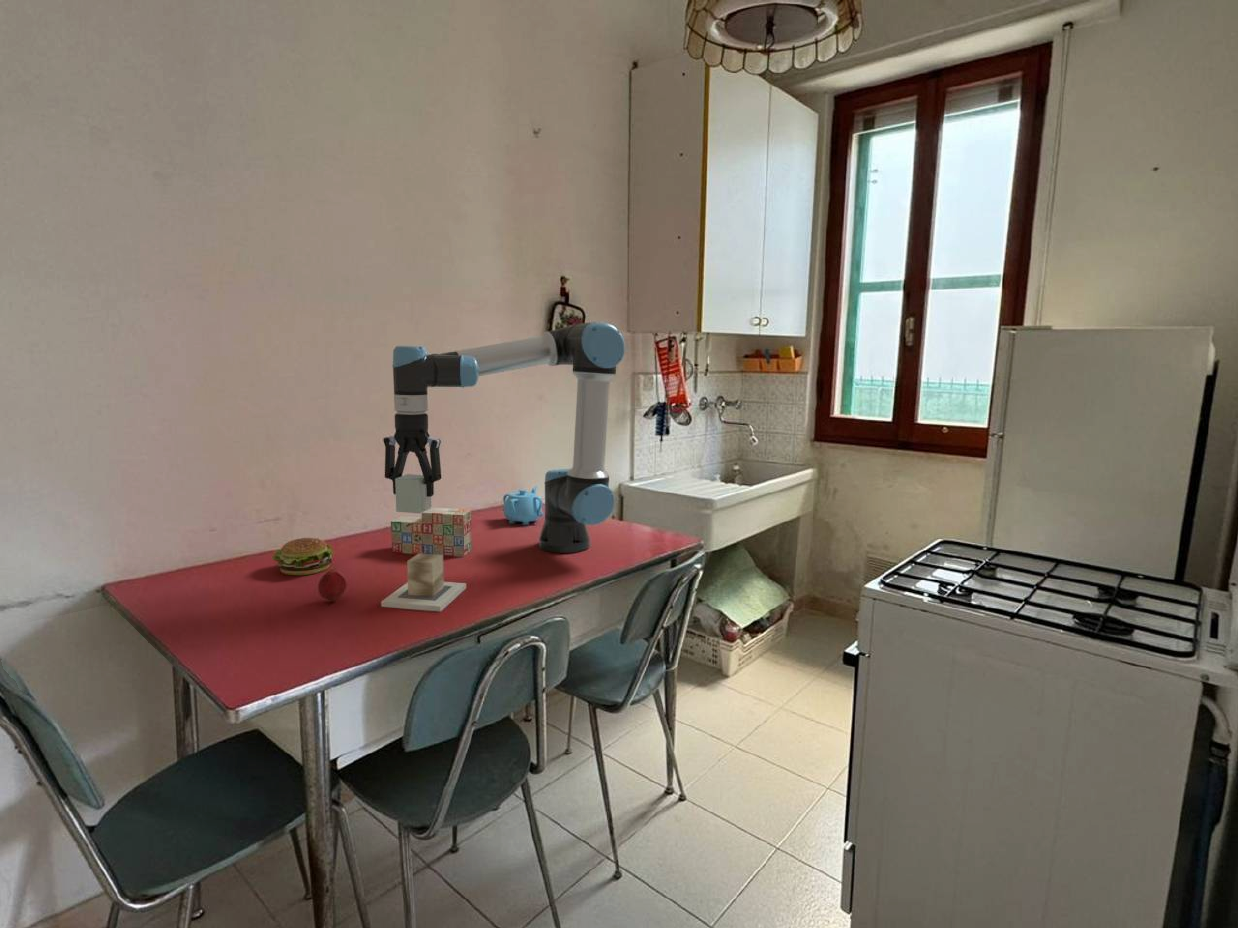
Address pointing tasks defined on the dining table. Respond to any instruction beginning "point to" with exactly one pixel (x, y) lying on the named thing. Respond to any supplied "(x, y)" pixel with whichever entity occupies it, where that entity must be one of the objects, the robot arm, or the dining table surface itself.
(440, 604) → the white square base plate
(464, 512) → the stack of blocks
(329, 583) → the onion
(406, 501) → the sage block
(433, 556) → the beech block
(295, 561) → the food
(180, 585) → the dining table surface
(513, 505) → the teapot
